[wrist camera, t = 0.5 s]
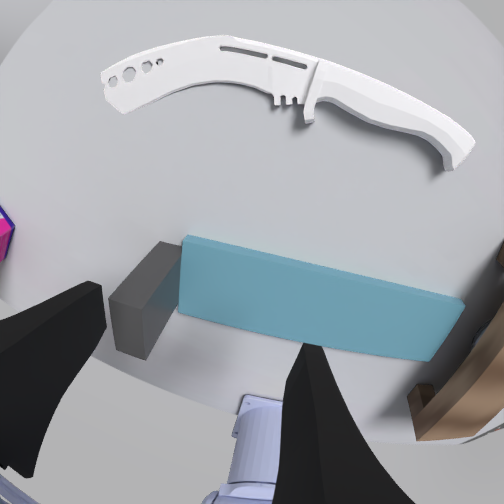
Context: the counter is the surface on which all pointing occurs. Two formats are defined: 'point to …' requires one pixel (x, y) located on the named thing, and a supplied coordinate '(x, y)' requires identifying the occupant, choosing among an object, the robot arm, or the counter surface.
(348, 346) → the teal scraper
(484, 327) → the steel token
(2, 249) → the supplement box
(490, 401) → the low wooden stool
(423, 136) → the knife
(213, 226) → the counter surface
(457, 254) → the counter surface
